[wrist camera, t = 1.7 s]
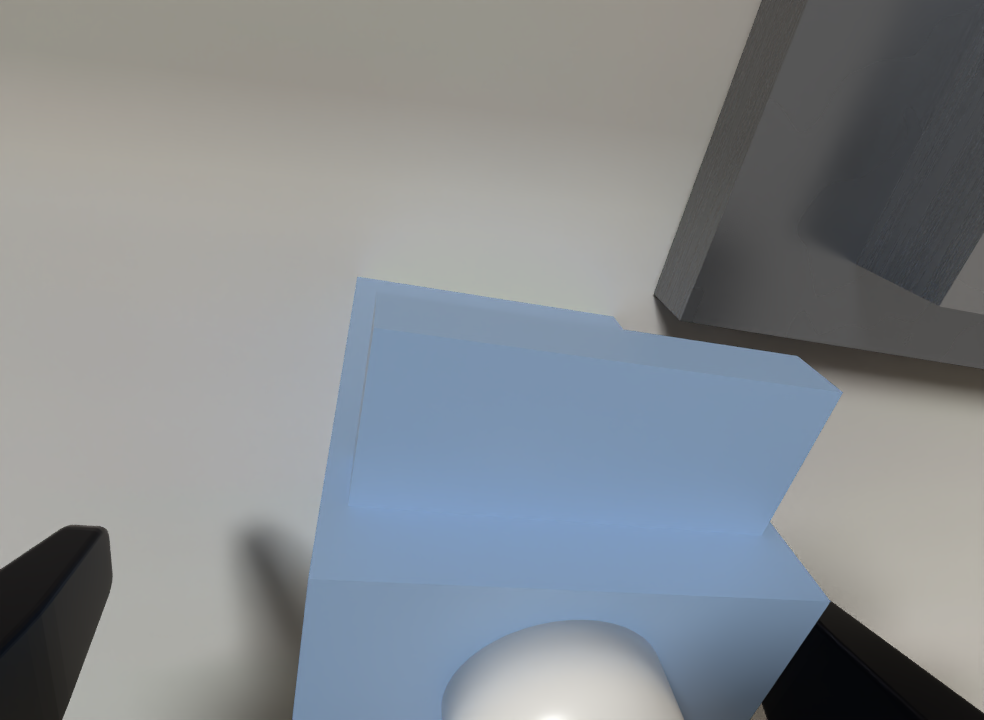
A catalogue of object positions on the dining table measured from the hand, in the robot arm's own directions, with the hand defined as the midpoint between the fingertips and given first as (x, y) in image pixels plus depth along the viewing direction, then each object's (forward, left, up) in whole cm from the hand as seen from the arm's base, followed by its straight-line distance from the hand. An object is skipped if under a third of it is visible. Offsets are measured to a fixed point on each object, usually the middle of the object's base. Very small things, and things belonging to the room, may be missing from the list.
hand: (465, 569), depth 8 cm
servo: (0, 0, -2) cm, 3 cm away
